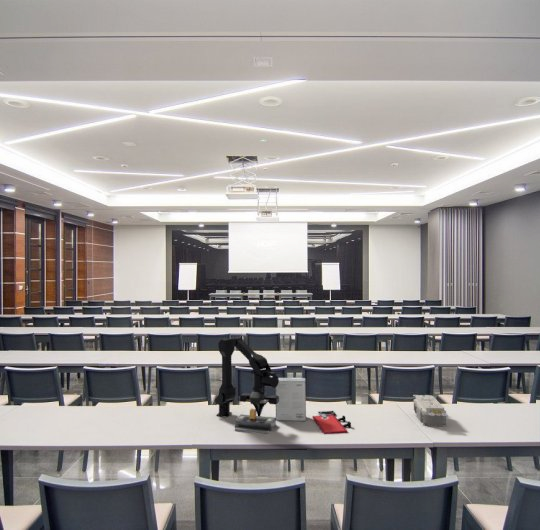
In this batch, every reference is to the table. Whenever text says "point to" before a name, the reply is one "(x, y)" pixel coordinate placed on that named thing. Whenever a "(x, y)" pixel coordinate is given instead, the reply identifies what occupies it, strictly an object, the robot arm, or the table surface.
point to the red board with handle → (330, 422)
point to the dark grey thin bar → (251, 430)
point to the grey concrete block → (429, 410)
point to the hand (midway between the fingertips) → (259, 416)
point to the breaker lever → (252, 413)
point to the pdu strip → (256, 422)
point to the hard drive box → (291, 399)
